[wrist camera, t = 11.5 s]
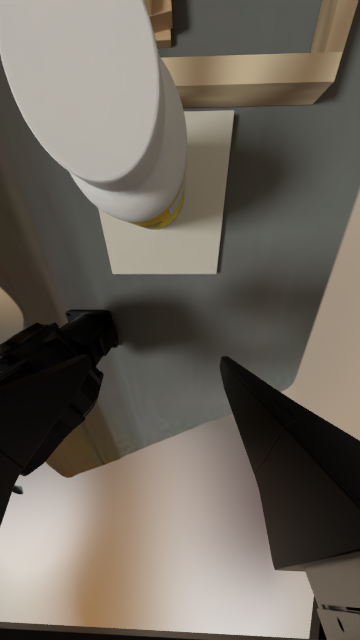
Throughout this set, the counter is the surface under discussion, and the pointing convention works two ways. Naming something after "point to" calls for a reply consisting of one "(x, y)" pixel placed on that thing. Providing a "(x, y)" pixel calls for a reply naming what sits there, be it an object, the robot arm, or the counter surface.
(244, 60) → the birch rack
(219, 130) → the pale grey mat
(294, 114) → the counter surface
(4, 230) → the counter surface
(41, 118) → the pill bottle
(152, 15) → the offcut stack
